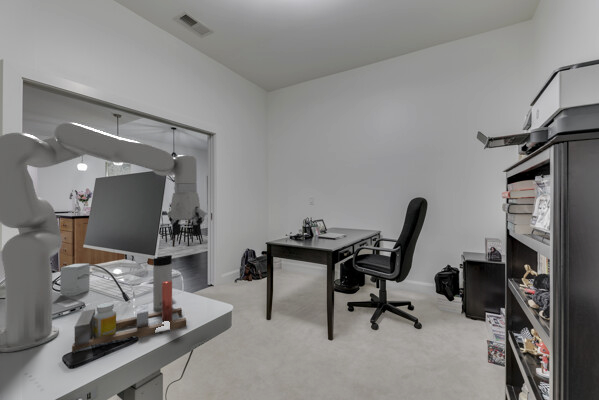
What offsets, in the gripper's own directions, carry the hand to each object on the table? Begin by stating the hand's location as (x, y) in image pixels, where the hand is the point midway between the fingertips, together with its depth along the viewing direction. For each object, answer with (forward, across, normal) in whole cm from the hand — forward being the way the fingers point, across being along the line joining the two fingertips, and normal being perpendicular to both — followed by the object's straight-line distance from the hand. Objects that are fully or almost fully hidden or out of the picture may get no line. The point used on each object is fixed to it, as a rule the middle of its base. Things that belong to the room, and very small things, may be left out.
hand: (186, 235), depth 95 cm
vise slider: (+28, -1, -12) cm, 30 cm away
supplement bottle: (+28, -9, -23) cm, 37 cm away
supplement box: (+28, -64, -1) cm, 70 cm away
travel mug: (+28, -11, -1) cm, 30 cm away
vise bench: (+28, -4, -17) cm, 33 cm away
